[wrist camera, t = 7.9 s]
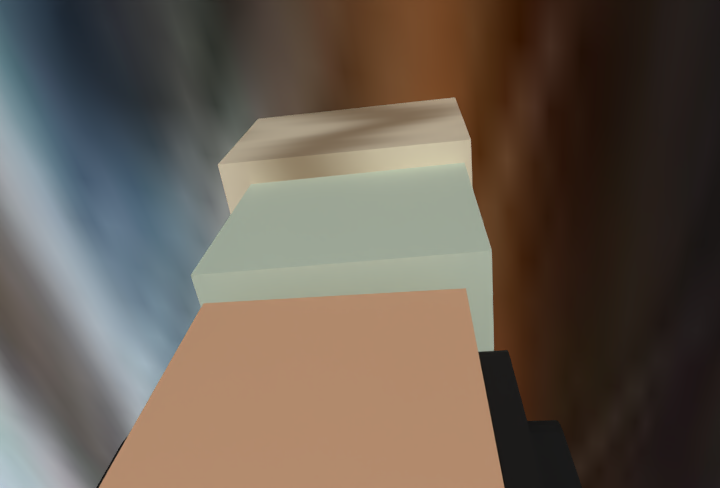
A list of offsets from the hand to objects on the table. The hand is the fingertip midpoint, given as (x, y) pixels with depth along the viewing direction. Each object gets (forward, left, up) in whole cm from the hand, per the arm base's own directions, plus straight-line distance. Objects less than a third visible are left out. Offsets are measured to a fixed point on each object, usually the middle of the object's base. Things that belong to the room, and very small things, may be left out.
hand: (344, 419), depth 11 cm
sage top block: (0, 0, -6) cm, 6 cm away
